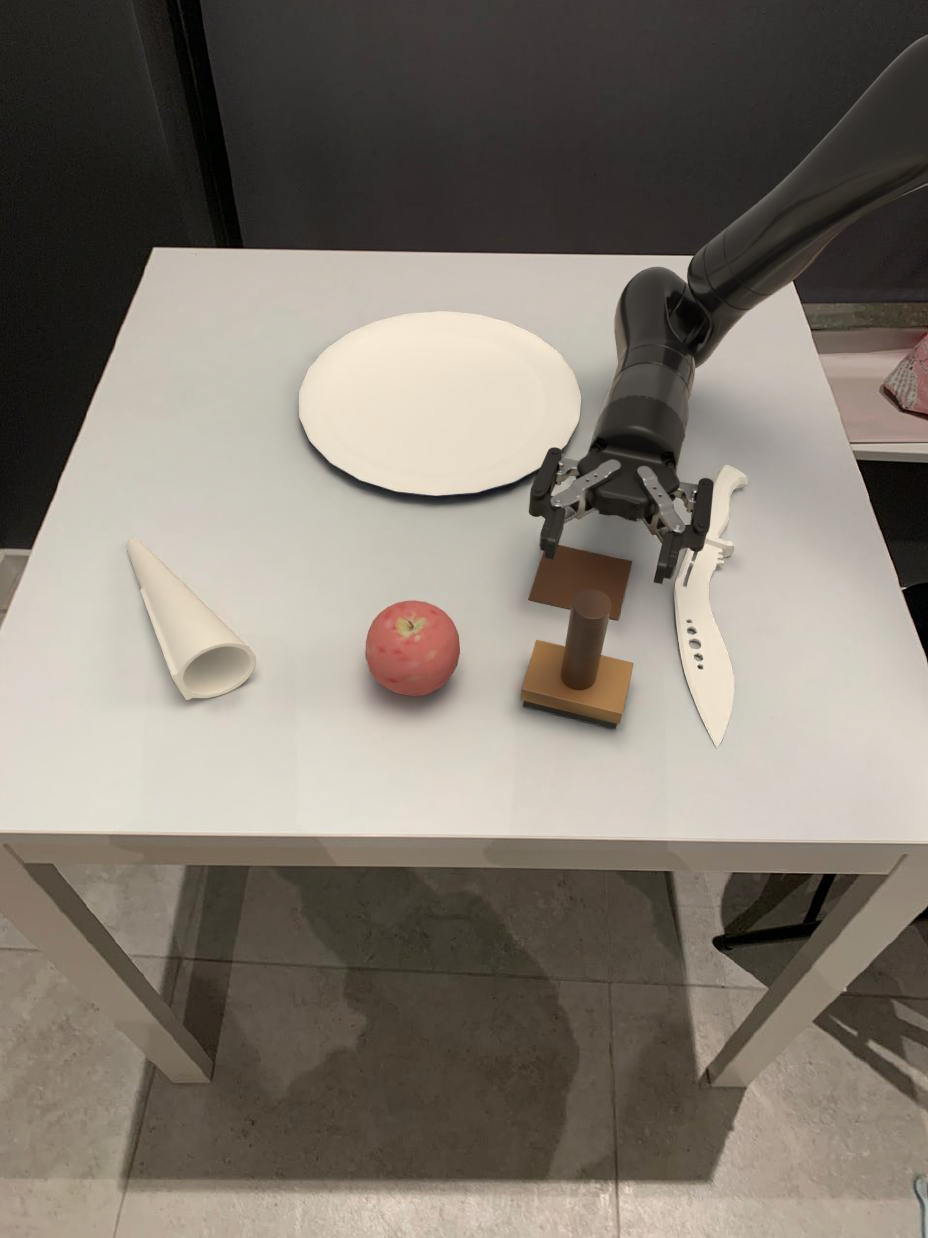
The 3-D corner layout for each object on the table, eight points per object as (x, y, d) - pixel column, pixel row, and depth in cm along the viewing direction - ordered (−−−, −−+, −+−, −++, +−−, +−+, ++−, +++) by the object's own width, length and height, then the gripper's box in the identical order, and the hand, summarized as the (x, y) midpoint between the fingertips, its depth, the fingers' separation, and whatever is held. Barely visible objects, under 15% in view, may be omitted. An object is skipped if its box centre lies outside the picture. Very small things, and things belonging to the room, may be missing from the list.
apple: (444, 724, 74) (444, 667, 68) (357, 702, 75) (348, 644, 69) (469, 651, 78) (471, 591, 72) (386, 631, 79) (380, 570, 73)
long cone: (199, 536, 88) (265, 675, 76) (135, 564, 87) (191, 710, 75) (177, 491, 84) (243, 631, 72) (109, 519, 82) (164, 667, 70)
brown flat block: (632, 561, 84) (632, 560, 84) (618, 620, 80) (618, 619, 80) (546, 542, 86) (546, 542, 86) (528, 599, 82) (528, 599, 82)
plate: (355, 303, 108) (354, 290, 107) (603, 347, 103) (605, 334, 102) (254, 472, 91) (251, 459, 90) (546, 533, 86) (547, 520, 85)
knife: (722, 744, 72) (626, 709, 74) (717, 754, 73) (623, 719, 75) (801, 483, 88) (720, 459, 90) (796, 495, 89) (716, 471, 91)
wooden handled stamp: (628, 681, 76) (653, 589, 67) (617, 732, 74) (641, 643, 64) (534, 659, 78) (545, 565, 68) (519, 708, 75) (528, 617, 65)
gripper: (564, 377, 79) (516, 510, 69) (733, 409, 76) (708, 551, 67) (556, 445, 85) (511, 575, 75) (713, 476, 82) (687, 615, 73)
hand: (604, 564), depth 71 cm, fingers open, 8 cm apart
